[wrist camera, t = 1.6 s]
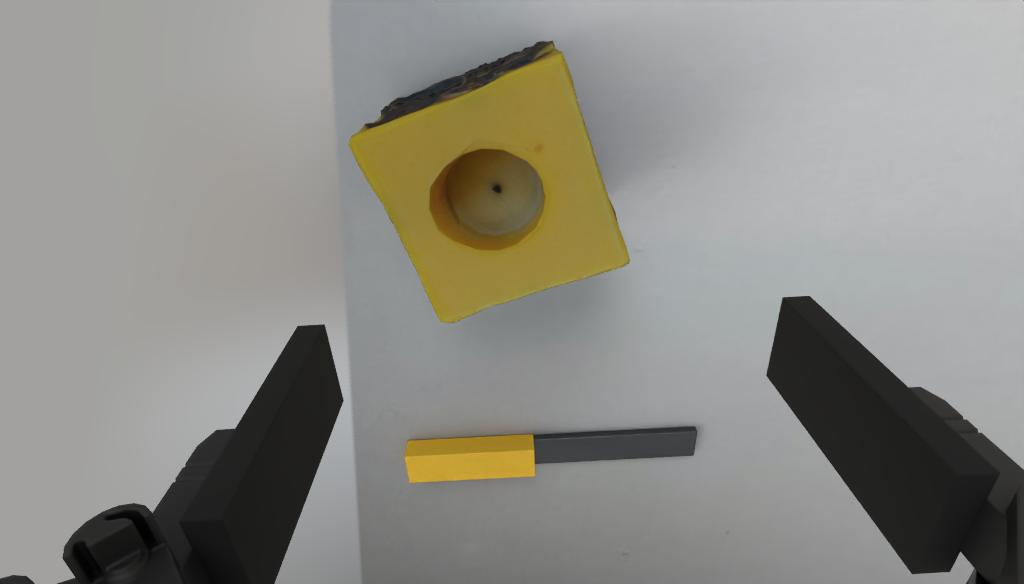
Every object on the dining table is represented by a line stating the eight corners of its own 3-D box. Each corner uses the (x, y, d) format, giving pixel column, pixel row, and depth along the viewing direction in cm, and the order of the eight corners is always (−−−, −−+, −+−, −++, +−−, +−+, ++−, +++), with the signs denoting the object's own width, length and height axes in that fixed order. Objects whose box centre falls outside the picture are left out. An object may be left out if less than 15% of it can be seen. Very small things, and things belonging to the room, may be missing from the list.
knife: (412, 466, 45) (409, 483, 43) (407, 440, 43) (404, 456, 42) (691, 451, 45) (698, 467, 43) (695, 425, 43) (702, 441, 42)
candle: (602, 199, 34) (639, 267, 26) (455, 253, 36) (442, 333, 27) (550, 33, 30) (573, 45, 21) (385, 102, 31) (342, 140, 23)
